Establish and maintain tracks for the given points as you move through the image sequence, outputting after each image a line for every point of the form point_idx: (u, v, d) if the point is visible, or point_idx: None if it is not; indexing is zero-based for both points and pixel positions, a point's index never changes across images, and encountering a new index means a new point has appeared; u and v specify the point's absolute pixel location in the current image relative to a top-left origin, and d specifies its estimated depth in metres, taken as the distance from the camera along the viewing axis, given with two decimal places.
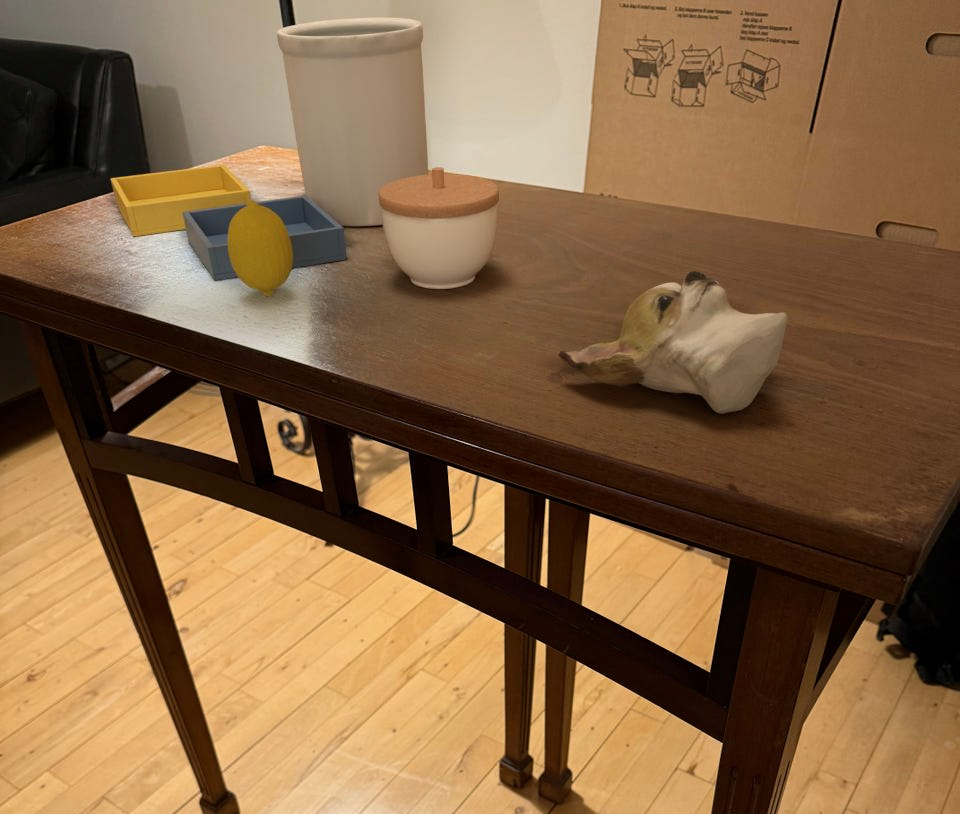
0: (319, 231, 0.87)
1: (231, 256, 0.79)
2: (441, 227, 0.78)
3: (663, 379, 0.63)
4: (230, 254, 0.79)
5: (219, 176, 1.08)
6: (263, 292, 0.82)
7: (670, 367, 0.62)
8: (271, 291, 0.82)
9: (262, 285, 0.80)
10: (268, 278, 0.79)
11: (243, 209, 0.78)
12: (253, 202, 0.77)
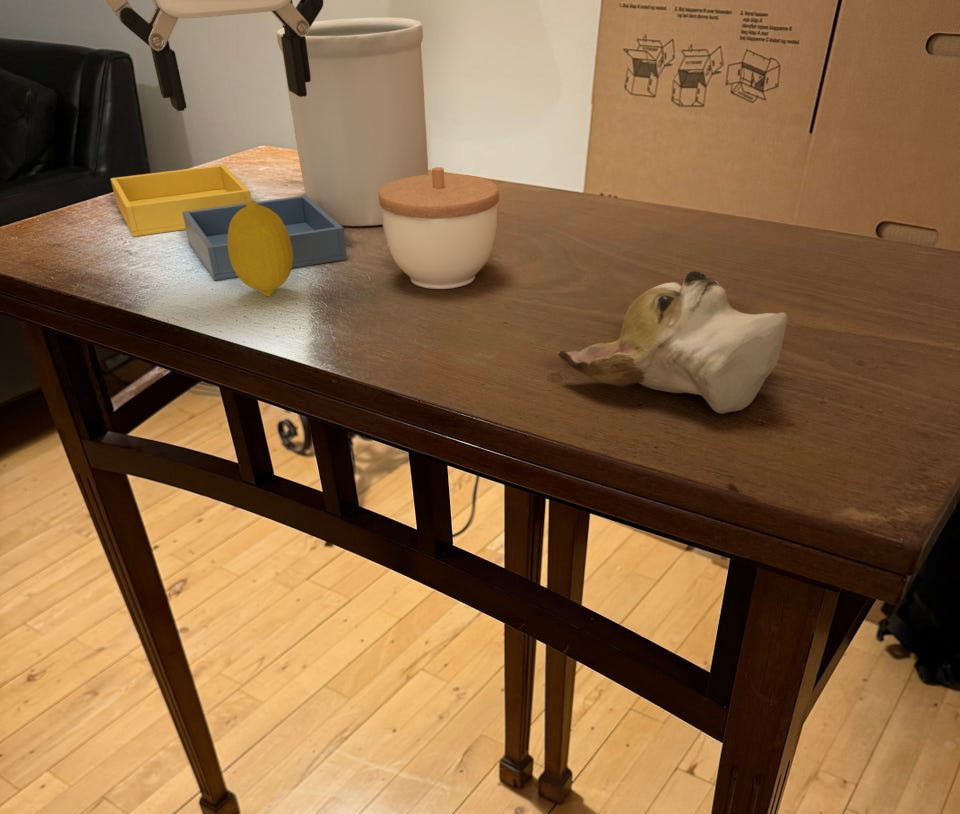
0: (319, 231, 0.87)
1: (231, 256, 0.79)
2: (441, 227, 0.78)
3: (663, 379, 0.63)
4: (230, 254, 0.79)
5: (219, 176, 1.08)
6: (263, 292, 0.82)
7: (670, 367, 0.62)
8: (271, 291, 0.82)
9: (262, 285, 0.80)
10: (268, 278, 0.79)
11: (243, 209, 0.78)
12: (253, 202, 0.77)
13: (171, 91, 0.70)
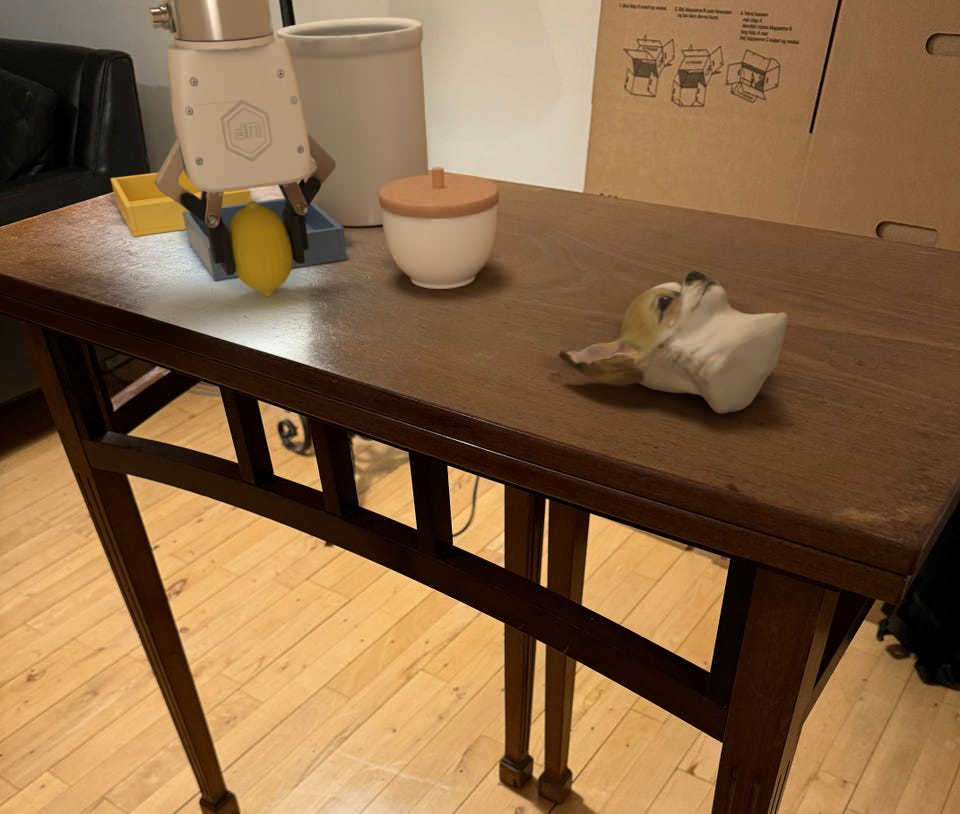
0: (319, 231, 0.87)
1: None
2: (441, 227, 0.78)
3: (663, 379, 0.63)
4: None
5: None
6: (263, 292, 0.82)
7: (670, 367, 0.62)
8: (271, 291, 0.82)
9: (262, 286, 0.80)
10: (268, 278, 0.79)
11: (243, 209, 0.78)
12: (253, 202, 0.77)
13: (222, 258, 0.78)
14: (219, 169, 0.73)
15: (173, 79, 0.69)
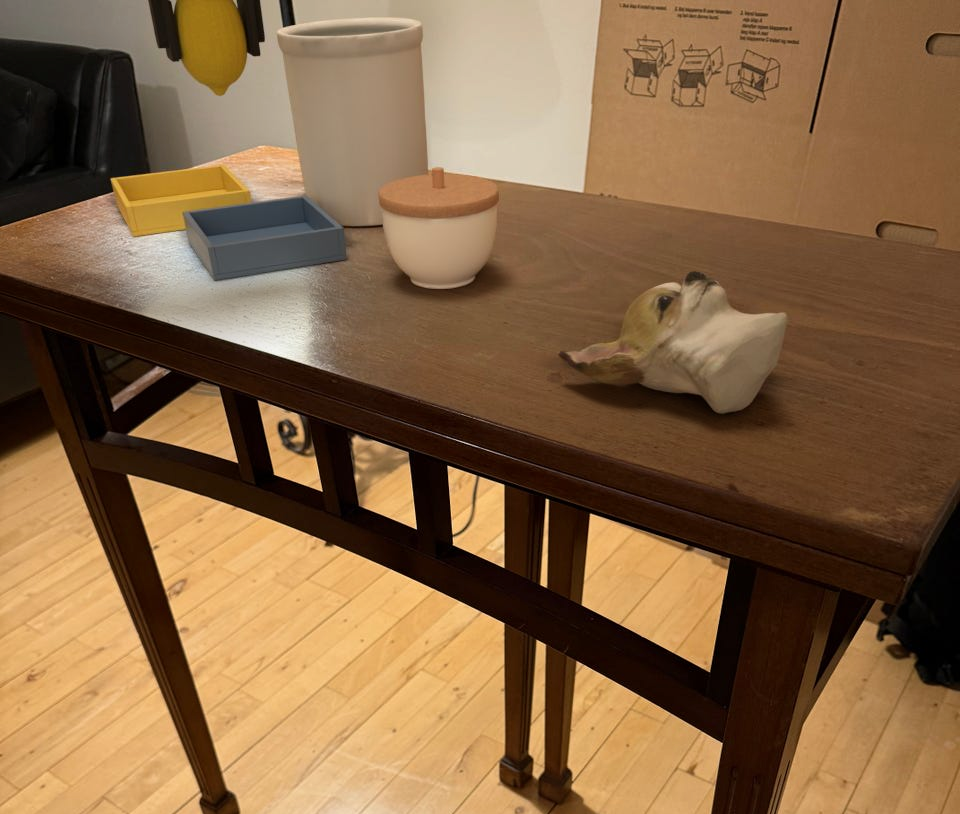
0: (319, 231, 0.87)
1: None
2: (441, 227, 0.78)
3: (663, 379, 0.63)
4: None
5: (219, 176, 1.08)
6: (214, 90, 0.74)
7: (670, 367, 0.62)
8: (223, 89, 0.74)
9: (211, 77, 0.72)
10: (218, 67, 0.71)
11: None
12: None
13: (167, 41, 0.70)
14: None
15: None
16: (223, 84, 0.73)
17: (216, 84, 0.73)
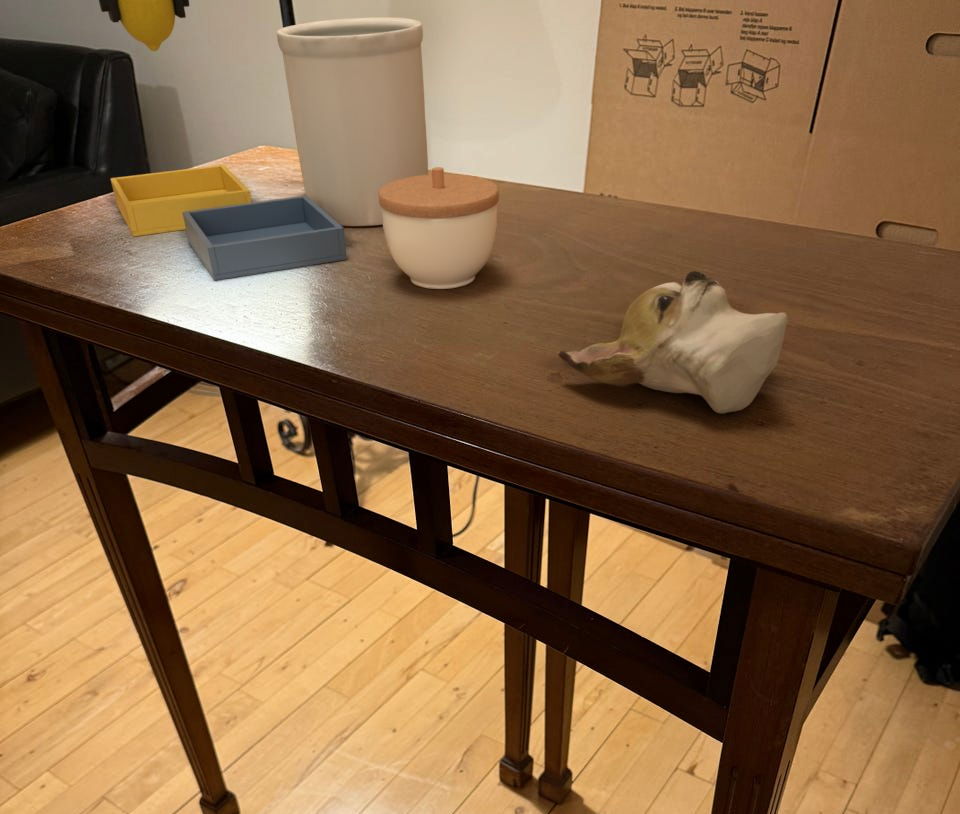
0: (319, 231, 0.87)
1: None
2: (441, 227, 0.78)
3: (663, 379, 0.63)
4: None
5: (219, 176, 1.08)
6: (149, 46, 0.90)
7: (670, 367, 0.62)
8: (156, 45, 0.90)
9: (145, 35, 0.89)
10: (150, 26, 0.88)
11: None
12: None
13: (108, 6, 0.87)
14: None
15: None
16: (156, 41, 0.90)
17: (150, 41, 0.89)
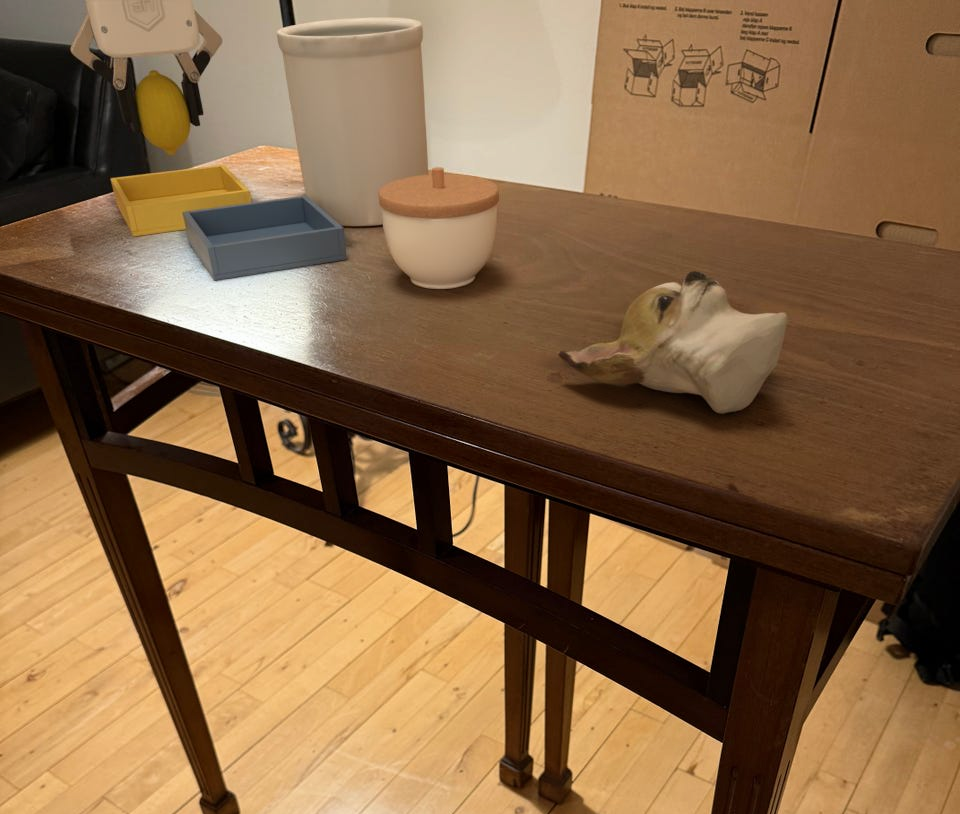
0: (319, 231, 0.87)
1: None
2: (441, 227, 0.78)
3: (663, 379, 0.63)
4: None
5: (219, 176, 1.08)
6: (167, 151, 0.99)
7: (670, 367, 0.62)
8: (173, 150, 0.99)
9: (164, 143, 0.97)
10: (168, 135, 0.97)
11: (146, 76, 0.95)
12: (154, 71, 0.95)
13: (130, 118, 0.96)
14: (121, 37, 0.90)
15: None
16: (173, 147, 0.98)
17: (168, 147, 0.98)
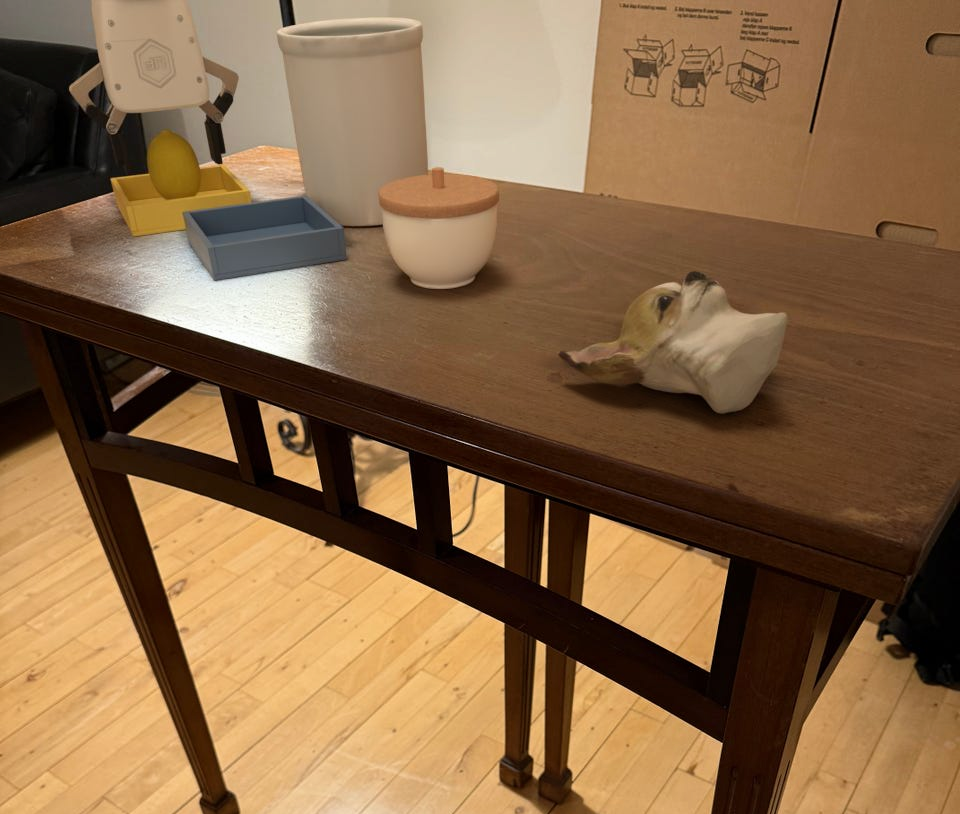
0: (319, 231, 0.87)
1: (150, 173, 1.00)
2: (441, 227, 0.78)
3: (663, 379, 0.63)
4: (149, 172, 1.00)
5: (219, 176, 1.08)
6: None
7: (670, 367, 0.62)
8: None
9: (175, 198, 1.01)
10: (179, 191, 1.00)
11: (158, 135, 0.98)
12: (166, 129, 0.98)
13: (123, 161, 0.98)
14: (134, 94, 0.93)
15: (95, 21, 0.89)
16: None
17: None
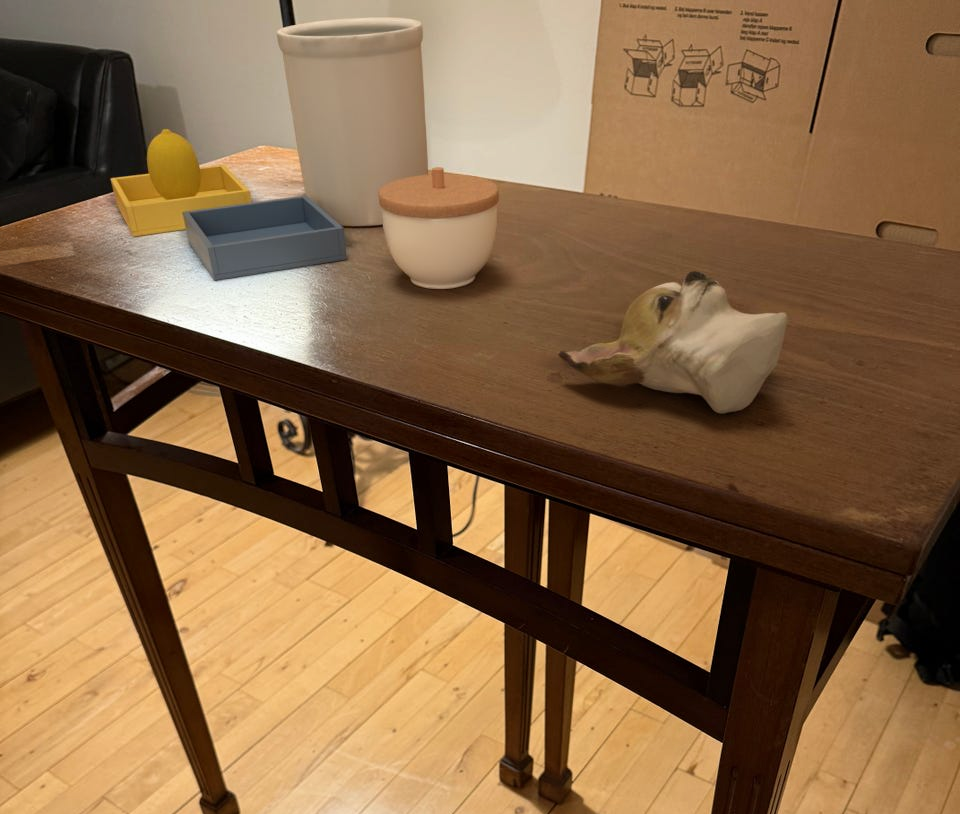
0: (319, 231, 0.87)
1: (150, 173, 1.00)
2: (441, 227, 0.78)
3: (663, 379, 0.63)
4: (149, 172, 1.00)
5: (219, 176, 1.08)
6: None
7: (670, 367, 0.62)
8: None
9: (175, 198, 1.01)
10: (179, 191, 1.00)
11: (158, 135, 0.98)
12: (166, 129, 0.98)
13: None
14: None
15: None
16: None
17: None
